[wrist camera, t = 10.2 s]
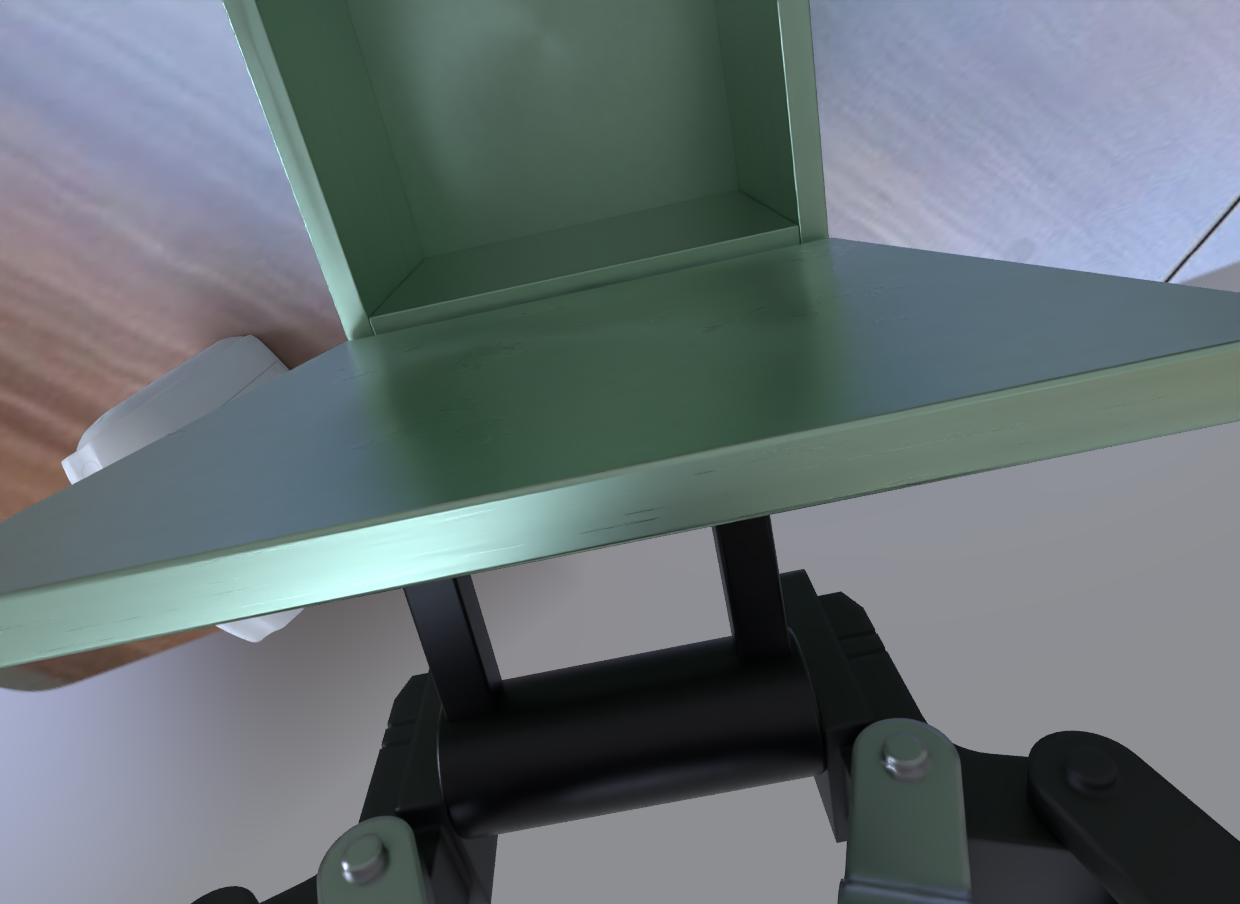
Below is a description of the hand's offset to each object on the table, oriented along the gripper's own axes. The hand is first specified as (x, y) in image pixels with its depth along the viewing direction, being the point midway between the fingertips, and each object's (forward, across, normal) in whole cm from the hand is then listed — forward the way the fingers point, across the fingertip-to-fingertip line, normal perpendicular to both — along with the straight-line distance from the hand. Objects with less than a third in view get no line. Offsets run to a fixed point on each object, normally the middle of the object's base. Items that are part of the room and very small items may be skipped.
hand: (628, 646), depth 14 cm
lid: (+4, 0, -4) cm, 6 cm away
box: (+25, 0, -11) cm, 27 cm away
